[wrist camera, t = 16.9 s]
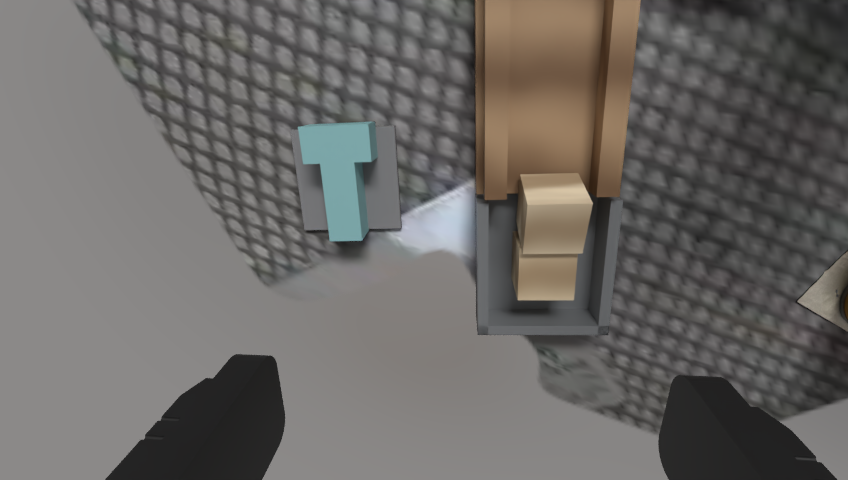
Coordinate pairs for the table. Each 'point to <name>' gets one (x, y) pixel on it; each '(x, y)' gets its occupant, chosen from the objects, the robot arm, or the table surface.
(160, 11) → the table surface
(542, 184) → the tan wooden cube
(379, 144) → the mat
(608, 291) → the tray
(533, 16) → the slot board
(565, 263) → the tan block
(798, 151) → the table surface
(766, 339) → the table surface
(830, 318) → the condiment
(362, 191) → the teal t-shaped block
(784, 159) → the table surface
